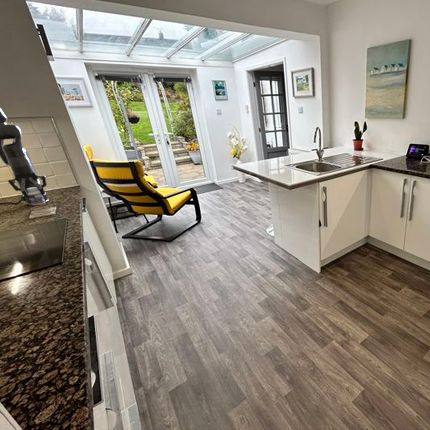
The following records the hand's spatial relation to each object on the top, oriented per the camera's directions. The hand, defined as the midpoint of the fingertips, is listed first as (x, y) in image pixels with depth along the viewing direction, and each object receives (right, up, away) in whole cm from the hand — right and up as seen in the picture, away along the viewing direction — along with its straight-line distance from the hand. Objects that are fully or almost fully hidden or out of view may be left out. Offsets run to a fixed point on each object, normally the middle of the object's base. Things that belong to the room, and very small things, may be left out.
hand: (35, 195), depth 142 cm
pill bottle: (0, -4, +2) cm, 5 cm away
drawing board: (0, -9, +4) cm, 10 cm away
